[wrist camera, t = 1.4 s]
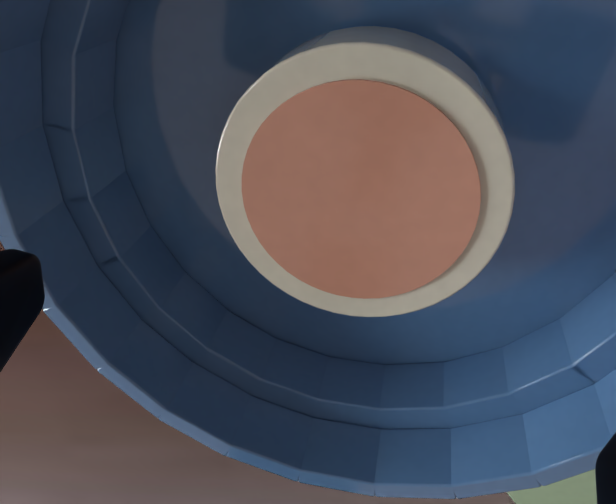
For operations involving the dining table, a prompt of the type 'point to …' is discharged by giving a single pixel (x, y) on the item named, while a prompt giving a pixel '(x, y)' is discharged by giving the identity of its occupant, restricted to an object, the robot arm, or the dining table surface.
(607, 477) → the robot arm
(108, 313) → the blue bowl
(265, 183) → the cream dish
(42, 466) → the dining table surface
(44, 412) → the dining table surface
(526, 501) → the placemat
